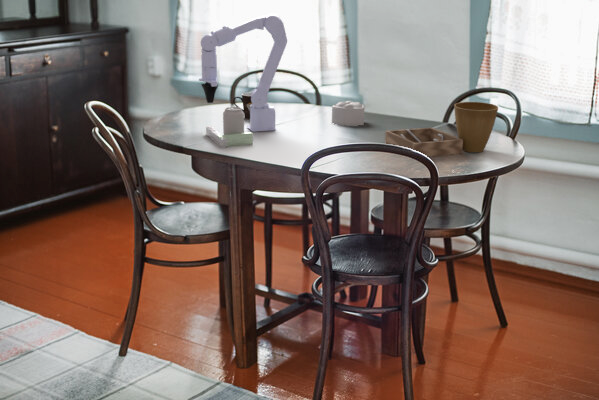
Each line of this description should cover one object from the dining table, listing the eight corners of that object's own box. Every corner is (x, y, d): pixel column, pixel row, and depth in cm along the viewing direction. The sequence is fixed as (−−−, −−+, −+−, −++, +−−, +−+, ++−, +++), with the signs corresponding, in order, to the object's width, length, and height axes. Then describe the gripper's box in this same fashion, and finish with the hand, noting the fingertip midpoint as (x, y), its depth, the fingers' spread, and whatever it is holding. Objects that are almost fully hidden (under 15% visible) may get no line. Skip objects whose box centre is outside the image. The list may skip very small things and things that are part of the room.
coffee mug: (266, 117, 318) (266, 94, 315) (254, 121, 311) (254, 96, 308) (244, 114, 323) (244, 91, 320) (231, 117, 316) (231, 93, 313)
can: (236, 143, 272) (236, 110, 268) (219, 141, 275) (218, 108, 272) (248, 139, 278) (247, 107, 275) (231, 137, 282) (230, 105, 278)
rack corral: (430, 140, 281) (431, 127, 279) (461, 154, 262) (463, 139, 261) (384, 144, 274) (385, 130, 273) (413, 158, 256) (414, 143, 254)
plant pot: (446, 145, 274) (449, 101, 269) (486, 145, 275) (491, 101, 270) (456, 155, 260) (460, 109, 255) (499, 155, 261) (504, 109, 256)
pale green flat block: (236, 132, 289) (236, 122, 288) (254, 145, 270) (254, 134, 269) (206, 134, 285) (206, 124, 284) (221, 147, 266) (221, 136, 265)
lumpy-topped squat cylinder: (363, 126, 304) (364, 105, 301) (331, 125, 305) (331, 104, 302) (363, 121, 314) (364, 100, 311) (332, 120, 315) (332, 99, 312)
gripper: (194, 64, 293) (195, 99, 297) (203, 69, 280) (204, 106, 284) (212, 64, 295) (212, 98, 299) (222, 69, 282) (222, 105, 286)
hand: (210, 102), depth 292 cm, fingers closed
